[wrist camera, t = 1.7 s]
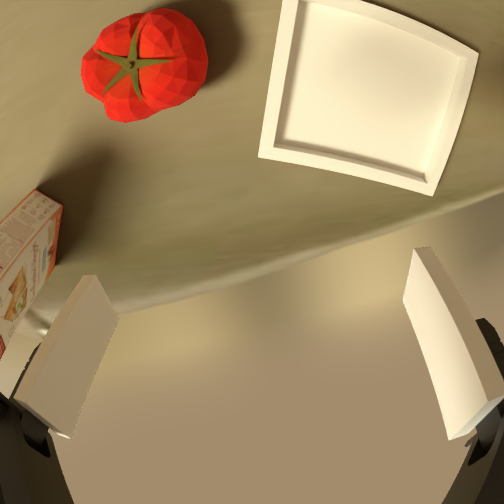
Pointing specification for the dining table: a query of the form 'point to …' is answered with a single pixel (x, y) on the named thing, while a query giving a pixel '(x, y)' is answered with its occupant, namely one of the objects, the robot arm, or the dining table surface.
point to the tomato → (145, 64)
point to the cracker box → (25, 257)
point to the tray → (365, 93)
